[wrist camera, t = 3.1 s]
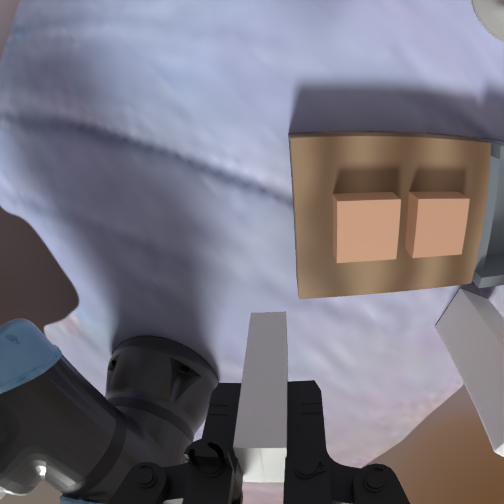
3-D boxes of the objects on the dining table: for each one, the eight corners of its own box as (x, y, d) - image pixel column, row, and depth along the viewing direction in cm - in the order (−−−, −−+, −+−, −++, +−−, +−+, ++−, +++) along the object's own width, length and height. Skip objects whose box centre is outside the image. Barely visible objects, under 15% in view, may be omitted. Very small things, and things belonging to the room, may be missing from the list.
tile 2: (332, 252, 27) (336, 263, 25) (332, 193, 24) (337, 201, 23) (388, 248, 26) (396, 259, 24) (392, 191, 24) (401, 199, 22)
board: (296, 276, 32) (298, 299, 29) (288, 133, 26) (290, 138, 23) (455, 264, 30) (471, 283, 27) (468, 136, 24) (491, 143, 21)
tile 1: (404, 247, 26) (412, 258, 24) (408, 191, 24) (418, 198, 22) (451, 244, 25) (461, 254, 24) (458, 191, 23) (469, 198, 21)
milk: (433, 326, 34) (501, 480, 15) (459, 286, 32) (553, 436, 12) (464, 335, 35) (531, 471, 15) (489, 298, 32) (576, 430, 12)
